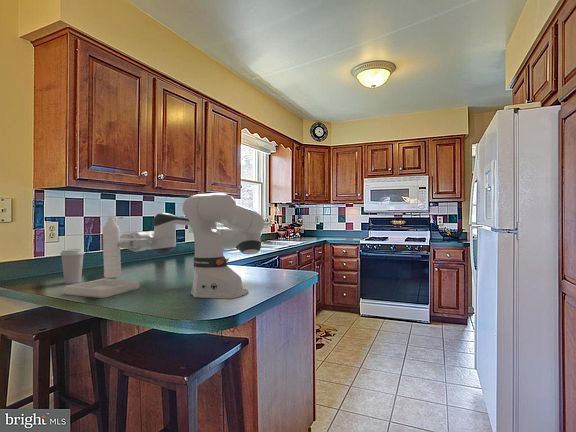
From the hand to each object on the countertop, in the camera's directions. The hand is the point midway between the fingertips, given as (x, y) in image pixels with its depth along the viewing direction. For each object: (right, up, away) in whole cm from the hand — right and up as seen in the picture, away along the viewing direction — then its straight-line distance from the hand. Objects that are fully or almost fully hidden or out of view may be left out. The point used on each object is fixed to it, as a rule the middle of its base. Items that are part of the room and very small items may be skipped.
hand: (112, 244), depth 146 cm
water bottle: (+1, -14, +1) cm, 14 cm away
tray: (-1, -18, -5) cm, 19 cm away
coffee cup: (-25, -19, +14) cm, 35 cm away
